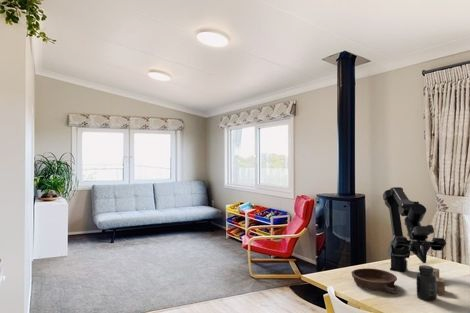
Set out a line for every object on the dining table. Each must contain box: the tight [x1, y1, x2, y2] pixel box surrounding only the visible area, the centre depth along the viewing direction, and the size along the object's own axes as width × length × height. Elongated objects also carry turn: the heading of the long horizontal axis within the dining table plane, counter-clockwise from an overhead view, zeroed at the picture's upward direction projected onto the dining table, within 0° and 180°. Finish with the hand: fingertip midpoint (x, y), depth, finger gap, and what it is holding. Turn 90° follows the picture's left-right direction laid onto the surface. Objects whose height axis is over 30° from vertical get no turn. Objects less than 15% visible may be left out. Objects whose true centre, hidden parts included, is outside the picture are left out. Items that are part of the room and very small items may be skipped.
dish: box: [351, 267, 398, 293], centre depth 147 cm, size 18×22×5 cm
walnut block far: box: [433, 267, 440, 278], centre depth 153 cm, size 5×5×5 cm
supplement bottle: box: [415, 264, 438, 302], centre depth 133 cm, size 7×7×12 cm
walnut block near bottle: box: [436, 277, 446, 295], centre depth 140 cm, size 5×5×5 cm
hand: (424, 262), depth 135 cm, fingers closed
